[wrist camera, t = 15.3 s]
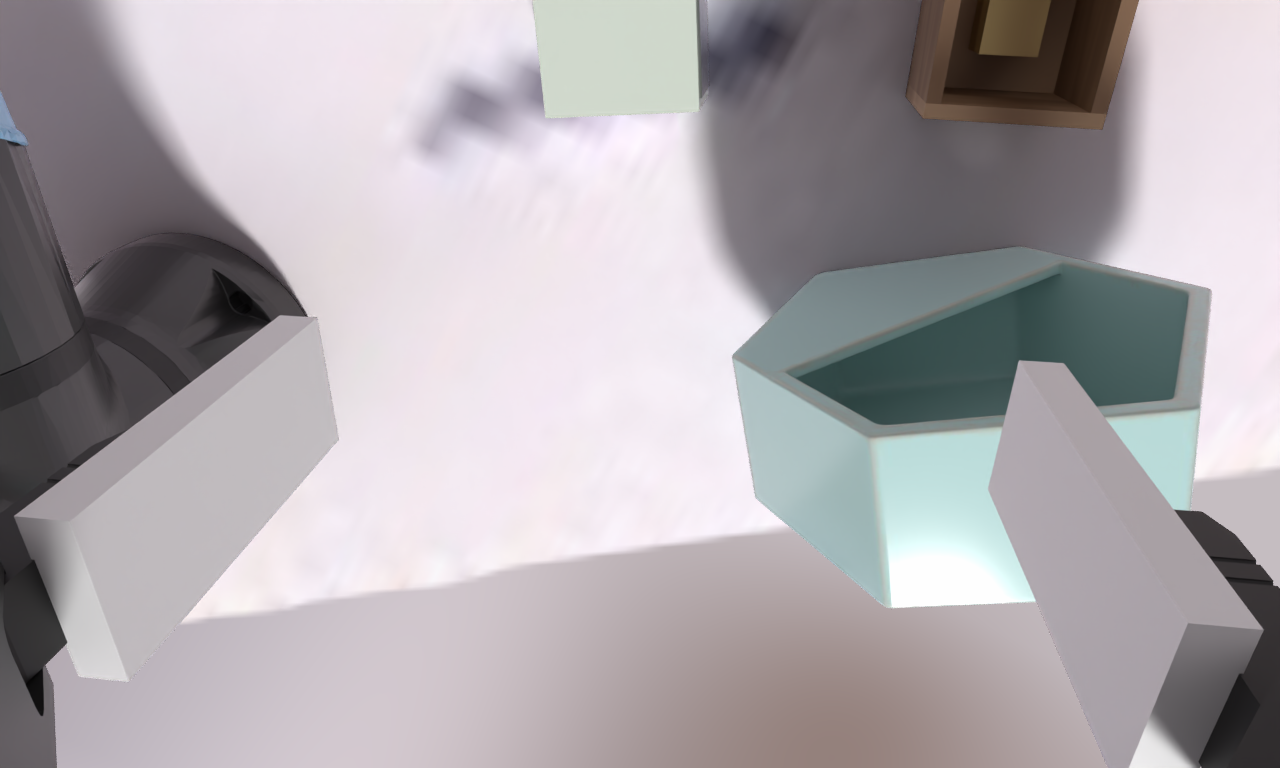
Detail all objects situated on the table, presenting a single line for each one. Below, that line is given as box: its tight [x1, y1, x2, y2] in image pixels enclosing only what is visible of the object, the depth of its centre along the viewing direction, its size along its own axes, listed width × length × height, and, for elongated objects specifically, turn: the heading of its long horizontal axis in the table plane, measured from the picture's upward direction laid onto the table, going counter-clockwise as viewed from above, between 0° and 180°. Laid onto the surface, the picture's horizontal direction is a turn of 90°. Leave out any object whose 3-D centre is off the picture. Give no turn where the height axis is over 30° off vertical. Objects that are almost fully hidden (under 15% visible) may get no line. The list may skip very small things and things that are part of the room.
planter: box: [732, 246, 1212, 608], centre depth 37 cm, size 17×8×21 cm
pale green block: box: [533, 0, 709, 118], centre depth 39 cm, size 7×5×5 cm
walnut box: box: [905, 0, 1139, 130], centre depth 35 cm, size 7×7×6 cm
